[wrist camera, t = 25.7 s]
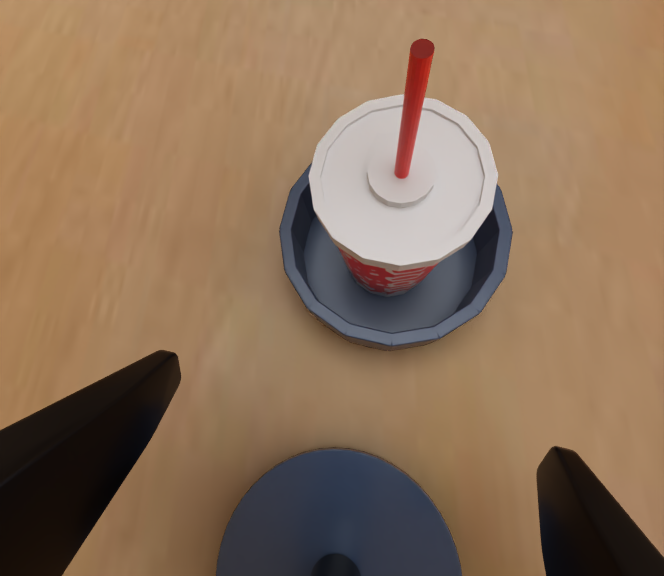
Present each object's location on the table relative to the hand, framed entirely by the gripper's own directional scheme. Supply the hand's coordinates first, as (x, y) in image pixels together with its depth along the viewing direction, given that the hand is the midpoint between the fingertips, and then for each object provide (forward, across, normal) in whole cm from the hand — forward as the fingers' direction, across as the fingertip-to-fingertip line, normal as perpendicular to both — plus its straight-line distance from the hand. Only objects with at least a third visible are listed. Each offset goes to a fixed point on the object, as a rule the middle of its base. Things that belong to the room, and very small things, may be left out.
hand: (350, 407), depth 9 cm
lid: (+2, -1, +14) cm, 14 cm away
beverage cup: (+13, 0, +3) cm, 13 cm away
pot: (+13, 0, +3) cm, 14 cm away
